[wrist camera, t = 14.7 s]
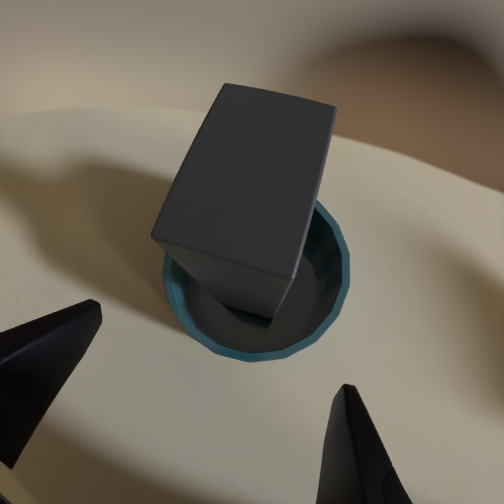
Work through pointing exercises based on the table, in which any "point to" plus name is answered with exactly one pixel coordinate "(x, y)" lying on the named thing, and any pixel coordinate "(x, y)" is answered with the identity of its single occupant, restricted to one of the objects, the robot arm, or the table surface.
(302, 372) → the table surface
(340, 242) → the teal shallow round dish
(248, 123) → the black rectangular box
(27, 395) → the robot arm
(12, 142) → the table surface
